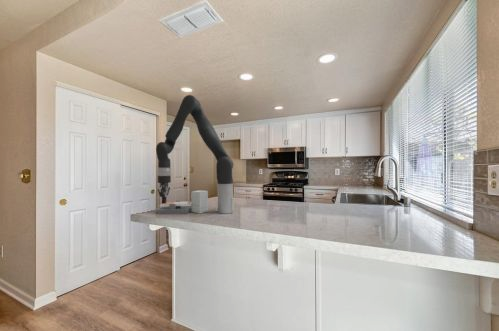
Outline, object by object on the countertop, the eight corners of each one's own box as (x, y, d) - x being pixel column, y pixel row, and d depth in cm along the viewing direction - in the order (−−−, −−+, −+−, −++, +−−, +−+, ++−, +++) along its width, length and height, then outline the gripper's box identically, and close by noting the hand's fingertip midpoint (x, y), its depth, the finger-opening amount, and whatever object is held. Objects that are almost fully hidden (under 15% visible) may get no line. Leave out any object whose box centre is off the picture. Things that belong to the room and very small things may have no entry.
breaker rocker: (190, 203, 137) (190, 200, 137) (186, 205, 129) (186, 203, 129) (165, 204, 137) (164, 202, 137) (159, 206, 129) (159, 204, 129)
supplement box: (208, 211, 134) (208, 190, 134) (199, 213, 127) (199, 192, 127) (199, 210, 138) (199, 190, 138) (190, 212, 131) (190, 191, 131)
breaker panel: (192, 209, 139) (192, 200, 139) (187, 213, 127) (186, 204, 127) (164, 209, 139) (164, 200, 139) (156, 214, 127) (156, 204, 127)
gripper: (166, 175, 126) (165, 205, 126) (174, 174, 139) (174, 201, 139) (153, 175, 126) (153, 205, 126) (162, 174, 139) (162, 201, 139)
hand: (164, 203), depth 133 cm, fingers closed
